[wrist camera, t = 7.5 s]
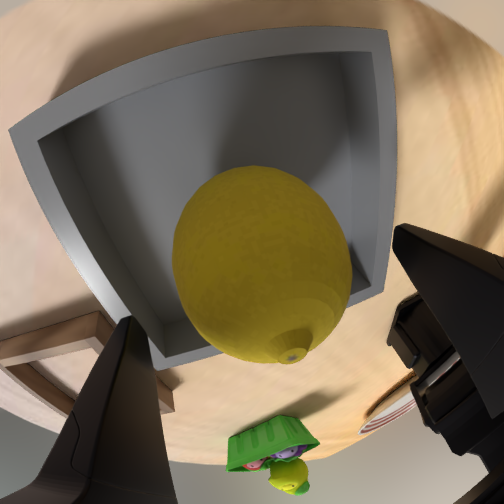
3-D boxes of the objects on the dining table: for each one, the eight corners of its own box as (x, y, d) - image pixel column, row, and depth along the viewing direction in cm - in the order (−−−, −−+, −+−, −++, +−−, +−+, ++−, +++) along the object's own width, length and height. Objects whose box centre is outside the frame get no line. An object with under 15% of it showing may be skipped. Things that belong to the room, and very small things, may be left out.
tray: (345, 34, 9) (387, 30, 7) (358, 262, 18) (383, 291, 15) (42, 116, 8) (8, 129, 6) (155, 331, 17) (157, 370, 14)
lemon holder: (99, 310, 14) (94, 336, 13) (172, 391, 21) (174, 411, 20) (-2, 341, 13) (-8, 361, 12) (77, 407, 20) (76, 424, 19)
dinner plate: (469, 344, 47) (476, 354, 44) (392, 413, 58) (397, 423, 55) (433, 343, 34) (445, 358, 31) (326, 432, 45) (332, 445, 42)
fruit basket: (282, 408, 29) (314, 489, 20) (313, 415, 34) (341, 479, 25) (214, 439, 31) (234, 511, 22) (253, 444, 36) (272, 503, 28)
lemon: (181, 136, 10) (161, 258, 4) (311, 152, 12) (437, 264, 5) (174, 251, 13) (174, 412, 7) (283, 254, 15) (344, 392, 8)
